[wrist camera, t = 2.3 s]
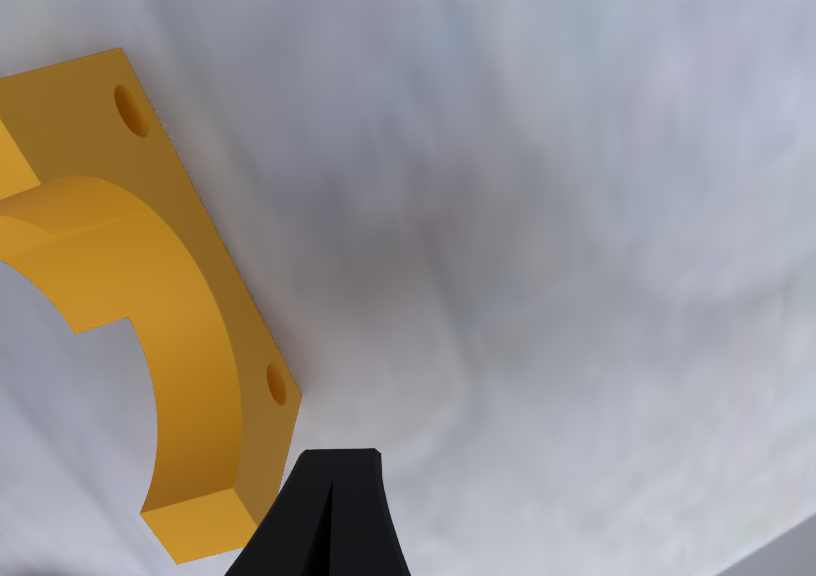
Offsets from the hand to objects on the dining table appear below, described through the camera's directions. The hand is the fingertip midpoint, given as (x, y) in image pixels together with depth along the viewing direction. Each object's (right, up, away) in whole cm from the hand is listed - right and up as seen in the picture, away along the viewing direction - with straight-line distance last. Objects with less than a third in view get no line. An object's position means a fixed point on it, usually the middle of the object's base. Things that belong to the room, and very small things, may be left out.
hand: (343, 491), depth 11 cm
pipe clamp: (-7, +4, +9) cm, 12 cm away
